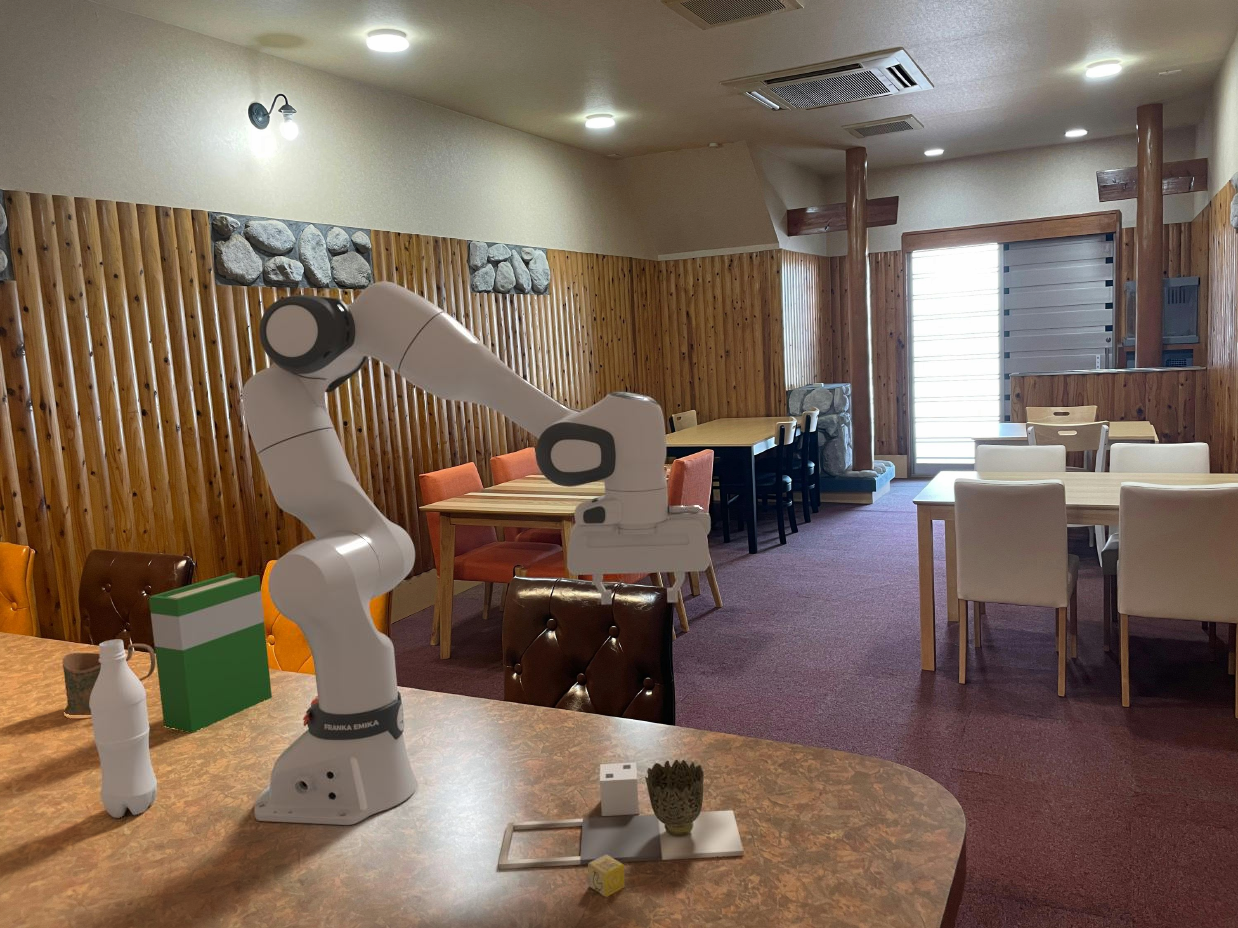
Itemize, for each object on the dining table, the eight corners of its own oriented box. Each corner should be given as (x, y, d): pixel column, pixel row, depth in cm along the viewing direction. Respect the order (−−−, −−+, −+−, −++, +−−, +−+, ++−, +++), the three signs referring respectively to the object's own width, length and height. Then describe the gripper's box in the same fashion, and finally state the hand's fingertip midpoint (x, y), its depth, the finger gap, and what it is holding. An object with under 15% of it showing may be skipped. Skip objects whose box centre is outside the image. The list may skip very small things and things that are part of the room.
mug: (143, 715, 169) (135, 653, 168) (49, 720, 169) (41, 658, 168) (174, 693, 181) (167, 634, 179) (86, 697, 181) (78, 638, 180)
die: (601, 815, 123) (599, 780, 122) (602, 798, 128) (600, 763, 127) (639, 813, 123) (637, 778, 122) (637, 796, 128) (636, 761, 127)
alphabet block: (608, 876, 109) (606, 852, 108) (625, 887, 106) (624, 862, 106) (588, 887, 107) (586, 863, 106) (605, 898, 104) (604, 873, 104)
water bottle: (170, 800, 135) (150, 636, 132) (130, 824, 128) (108, 652, 125) (133, 794, 137) (113, 633, 134) (91, 818, 130) (69, 649, 127)
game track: (498, 868, 112) (498, 864, 111) (508, 826, 121) (507, 822, 121) (743, 855, 112) (743, 850, 111) (732, 814, 121) (732, 810, 121)
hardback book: (244, 692, 179) (232, 573, 176) (271, 697, 175) (259, 575, 172) (164, 727, 163) (148, 596, 160) (192, 733, 160) (176, 599, 157)
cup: (703, 848, 112) (698, 788, 111) (645, 845, 114) (639, 786, 113) (711, 816, 119) (707, 759, 118) (656, 814, 121) (651, 757, 120)
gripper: (708, 501, 132) (710, 594, 133) (566, 505, 132) (570, 598, 134) (712, 508, 125) (714, 606, 127) (563, 513, 126) (567, 610, 127)
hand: (639, 602), depth 130 cm, fingers open, 8 cm apart
